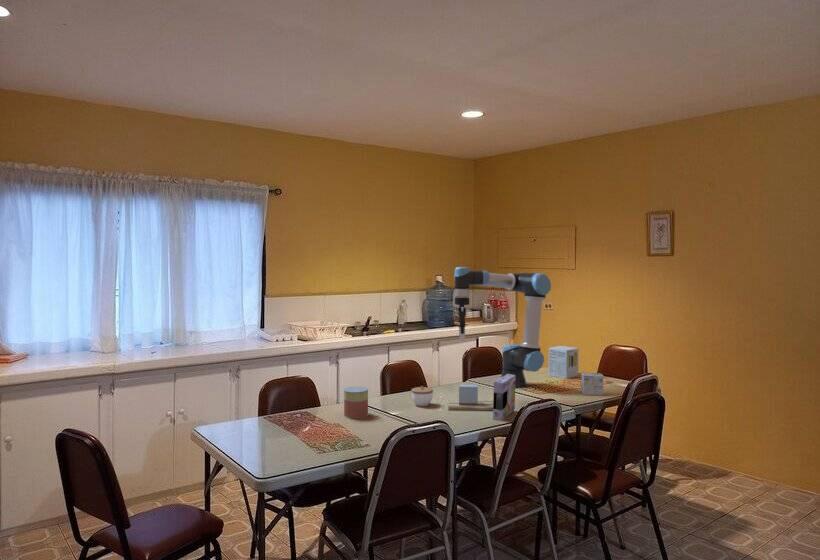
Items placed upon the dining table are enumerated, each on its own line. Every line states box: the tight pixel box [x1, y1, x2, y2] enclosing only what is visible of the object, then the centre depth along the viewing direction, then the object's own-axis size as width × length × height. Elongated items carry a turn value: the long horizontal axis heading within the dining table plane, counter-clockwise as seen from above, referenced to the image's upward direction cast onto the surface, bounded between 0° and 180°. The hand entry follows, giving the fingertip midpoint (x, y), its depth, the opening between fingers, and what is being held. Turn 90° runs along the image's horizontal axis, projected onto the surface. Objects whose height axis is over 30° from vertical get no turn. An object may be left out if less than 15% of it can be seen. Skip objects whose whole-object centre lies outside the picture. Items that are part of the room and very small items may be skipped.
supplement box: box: [548, 345, 579, 380], centre depth 357 cm, size 13×13×18 cm
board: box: [447, 399, 493, 411], centre depth 283 cm, size 13×26×2 cm, turn 86°
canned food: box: [343, 386, 369, 419], centre depth 270 cm, size 11×11×12 cm
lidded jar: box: [410, 385, 434, 407], centre depth 288 cm, size 11×11×9 cm
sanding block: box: [458, 384, 479, 405], centre depth 283 cm, size 5×9×9 cm, turn 87°
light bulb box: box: [581, 372, 605, 396], centre depth 310 cm, size 11×7×11 cm, turn 84°
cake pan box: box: [492, 374, 516, 421], centre depth 268 cm, size 19×5×18 cm, turn 151°
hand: (461, 338), depth 298 cm, fingers open, 13 cm apart
